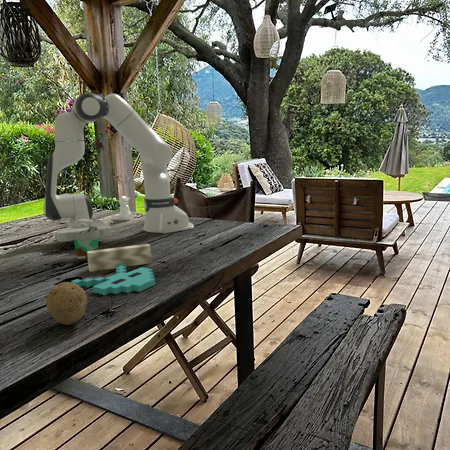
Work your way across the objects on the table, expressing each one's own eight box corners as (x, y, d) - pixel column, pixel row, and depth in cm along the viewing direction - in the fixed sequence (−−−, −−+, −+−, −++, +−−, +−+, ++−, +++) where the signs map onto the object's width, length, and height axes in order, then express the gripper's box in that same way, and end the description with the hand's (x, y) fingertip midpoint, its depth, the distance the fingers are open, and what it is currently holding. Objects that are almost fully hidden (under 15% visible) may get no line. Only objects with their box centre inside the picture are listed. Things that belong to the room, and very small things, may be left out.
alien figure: (71, 288, 131) (122, 301, 120) (70, 281, 130) (121, 293, 120) (121, 269, 147) (169, 279, 137) (120, 263, 147) (169, 272, 137)
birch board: (149, 260, 155) (148, 243, 154) (151, 263, 152) (150, 245, 151) (88, 269, 147) (87, 251, 146) (90, 271, 144) (88, 253, 143)
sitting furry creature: (128, 217, 232) (127, 193, 230) (137, 219, 226) (136, 195, 224) (112, 219, 226) (110, 196, 224) (121, 222, 220) (119, 197, 217)
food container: (91, 262, 154) (89, 234, 152) (74, 262, 156) (72, 233, 153) (107, 252, 166) (105, 226, 164) (92, 252, 167) (89, 225, 165)
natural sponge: (59, 314, 111) (55, 276, 109) (95, 315, 111) (91, 276, 108) (42, 331, 103) (37, 289, 100) (80, 332, 102) (76, 289, 100)
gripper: (53, 225, 176) (56, 232, 164) (106, 219, 184) (113, 226, 172) (55, 240, 178) (57, 249, 165) (108, 234, 186) (114, 242, 173)
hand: (86, 237), depth 169 cm, fingers closed
